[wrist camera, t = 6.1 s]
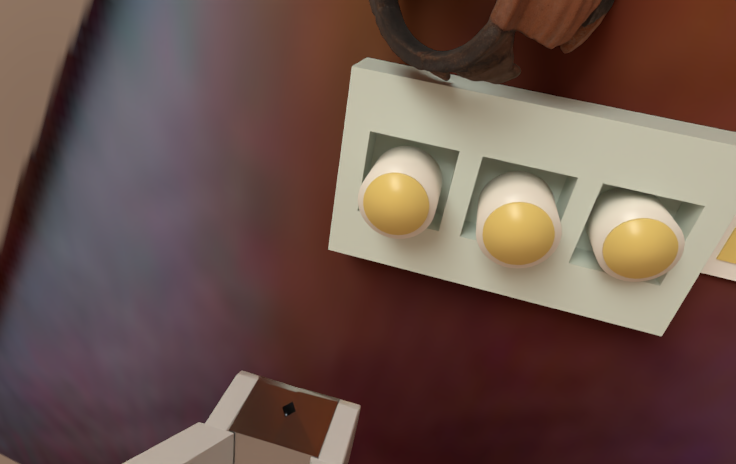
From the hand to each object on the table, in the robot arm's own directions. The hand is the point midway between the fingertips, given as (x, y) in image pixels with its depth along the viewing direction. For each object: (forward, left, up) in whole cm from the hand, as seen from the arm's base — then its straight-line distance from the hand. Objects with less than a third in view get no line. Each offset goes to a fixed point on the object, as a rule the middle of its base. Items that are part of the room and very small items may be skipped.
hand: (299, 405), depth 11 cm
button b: (-6, 0, -15) cm, 16 cm away
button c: (0, 0, -15) cm, 15 cm away
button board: (-6, 0, -18) cm, 18 cm away
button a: (-11, 0, -16) cm, 20 cm away
